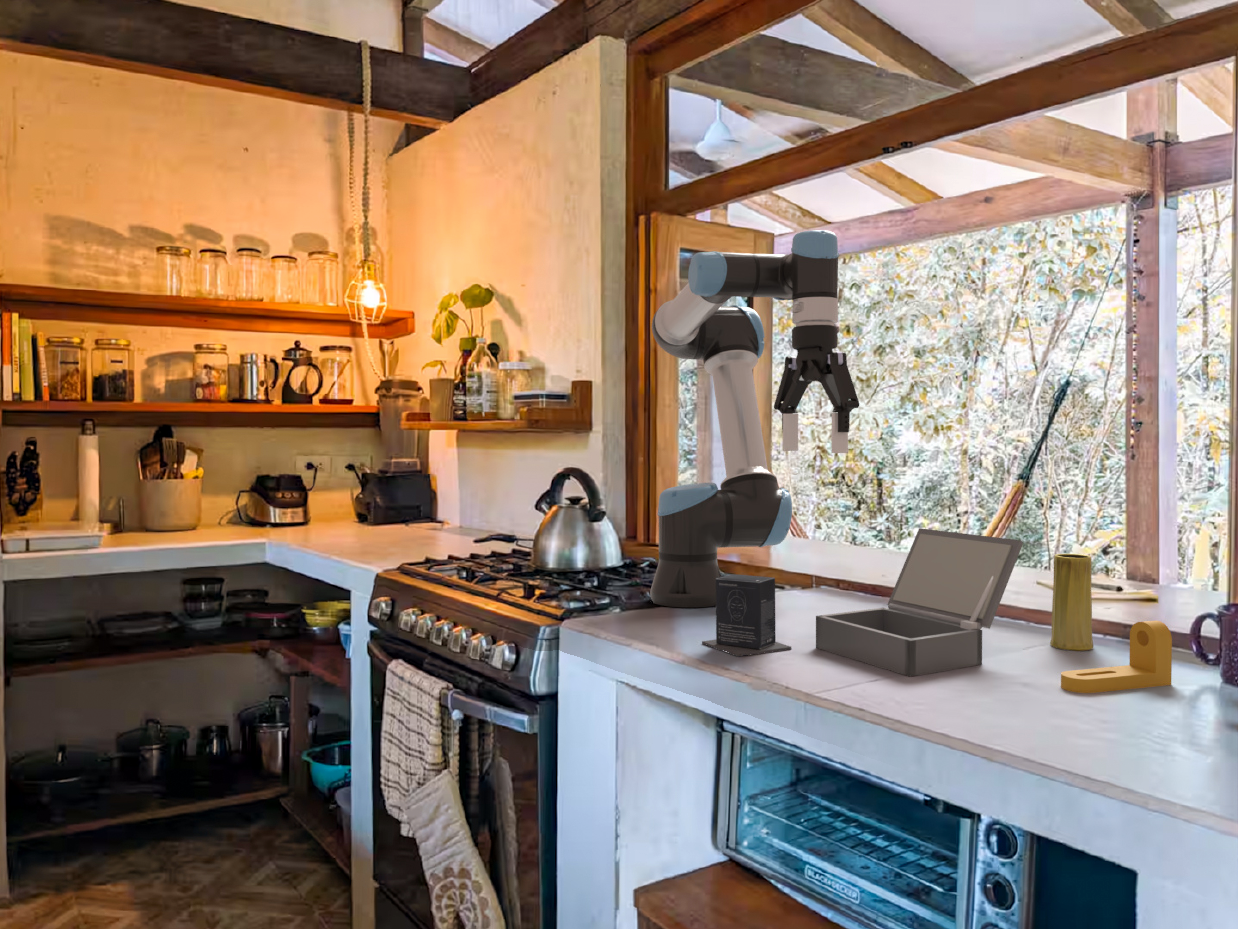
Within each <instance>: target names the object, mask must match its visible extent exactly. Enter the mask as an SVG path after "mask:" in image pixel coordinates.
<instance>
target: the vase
mask: <svg viewBox="0 0 1238 929" xmlns="http://www.w3.org/2000/svg"><path fill="white" fill-rule="evenodd" d="M1052 584H1053V585H1052V586H1053V589H1052V604H1051V605H1052V606H1051V607H1052V609H1051V639H1050V643H1049V644H1050V646H1051V647H1053V648H1055V649H1059V650H1065V651H1073V652H1074V651H1075V652H1082V651H1083V652H1084V651H1085V652H1086V651H1092V650H1093V649H1094V642H1093V626H1092V625H1093V624H1092V623H1093V606H1092V602H1093V601H1092V600H1093V598H1092V556H1091V555H1088V554H1082V553H1080V554H1079V553H1056V554H1054V556H1053V583H1052Z"/></svg>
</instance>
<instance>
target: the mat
mask: <svg viewBox="0 0 1238 929" xmlns="http://www.w3.org/2000/svg"><path fill="white" fill-rule="evenodd" d="M701 644H702V645H704V644H707V645H709V646H708V647H710V646H712V647H715V648H717V649H716V650H718V649H719V650H718V651H721V650H724V651H727V652H729V653H731V654H730V655H732V654H734V655H737V656H741V657H744V656H743V655H748V656H751V655H750V654H755V655H759V654H758V653H762V654H765V653H764V652H769V653H773V652H772V651H776V652H780V651H779V650H783V651H790V650H792V646H790V645H786V644H783V643H781V642H778V641H775V644H772V645H770V646H768V647H765V648H762V649H755V648H748V647H740V646H732V645H724V644H717V643H716V639H710V640H702V641H701ZM707 645H706V646H707ZM712 647H711V648H712ZM715 648H714V649H715ZM729 653H728V654H729ZM734 655H733V656H734ZM737 656H736V657H737Z"/></svg>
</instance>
